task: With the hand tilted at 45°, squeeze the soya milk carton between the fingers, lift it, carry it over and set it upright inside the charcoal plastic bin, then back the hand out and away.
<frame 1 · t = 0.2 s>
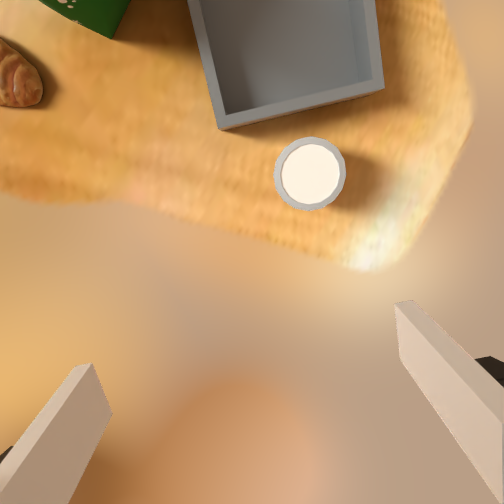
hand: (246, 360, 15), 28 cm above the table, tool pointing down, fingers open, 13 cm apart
white round container: (299, 170, 41), on the table
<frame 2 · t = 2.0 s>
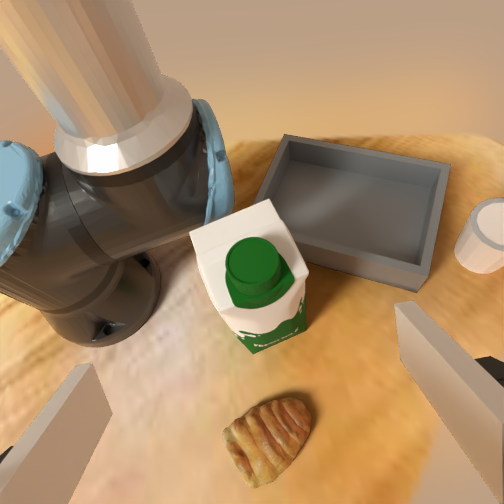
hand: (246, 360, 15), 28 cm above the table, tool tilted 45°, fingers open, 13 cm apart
pastry: (265, 437, 39), on the table
bin: (343, 217, 50), on the table
white round container: (477, 253, 45), on the table
soya milk: (268, 316, 45), on the table
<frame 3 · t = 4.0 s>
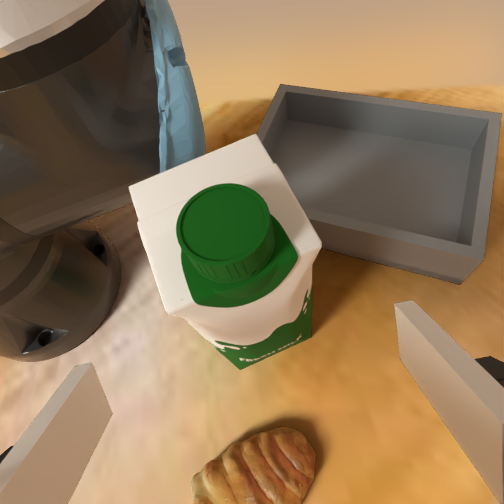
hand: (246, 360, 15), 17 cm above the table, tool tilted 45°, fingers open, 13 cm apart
pastry: (252, 485, 28), on the table
bin: (357, 188, 38), on the table
soya milk: (260, 318, 34), on the table
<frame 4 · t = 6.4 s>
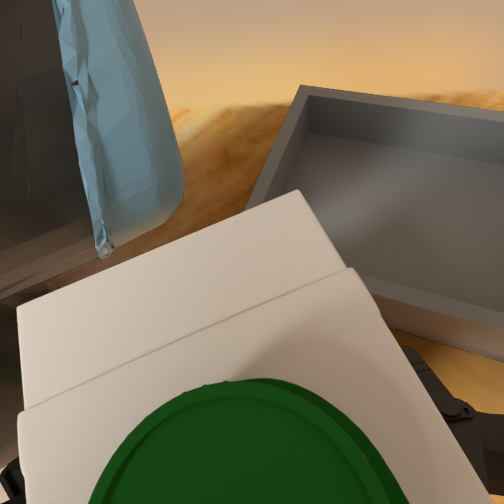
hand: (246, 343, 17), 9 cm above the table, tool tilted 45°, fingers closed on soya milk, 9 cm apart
bin: (407, 229, 28), on the table
soya milk: (276, 426, 23), on the table, touching gripper
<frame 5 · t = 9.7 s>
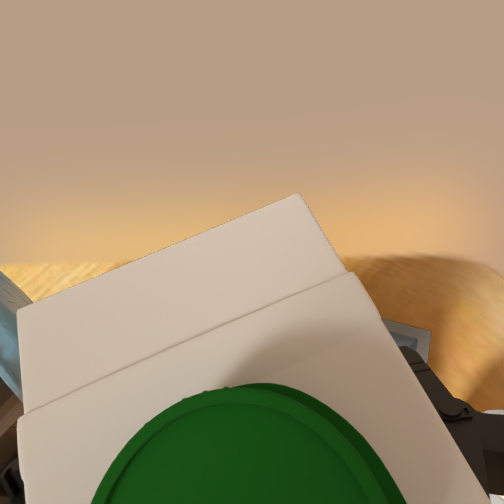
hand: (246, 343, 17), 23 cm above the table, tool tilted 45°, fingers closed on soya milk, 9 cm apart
bin: (291, 387, 37), on the table
soya milk: (276, 428, 23), point 14 cm above the table, touching gripper
when the fingers open (11 cm above the table, at t = 12.7 s): soya milk stays where it is, resting on bin.
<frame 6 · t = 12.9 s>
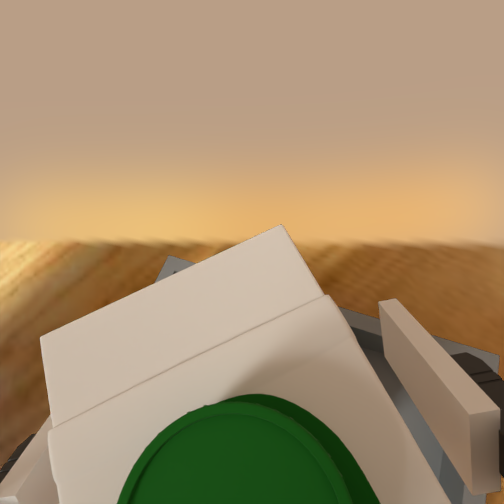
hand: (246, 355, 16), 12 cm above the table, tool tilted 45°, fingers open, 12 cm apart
bin: (278, 427, 25), on the table
soya milk: (275, 427, 24), point 1 cm above the table, touching bin
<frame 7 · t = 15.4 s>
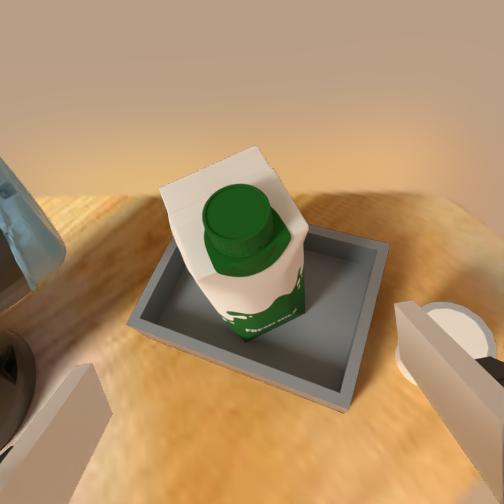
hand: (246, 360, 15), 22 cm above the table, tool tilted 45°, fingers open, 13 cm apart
bin: (263, 301, 40), on the table
white round container: (424, 358, 35), on the table
soya milk: (261, 299, 39), point 1 cm above the table, touching bin
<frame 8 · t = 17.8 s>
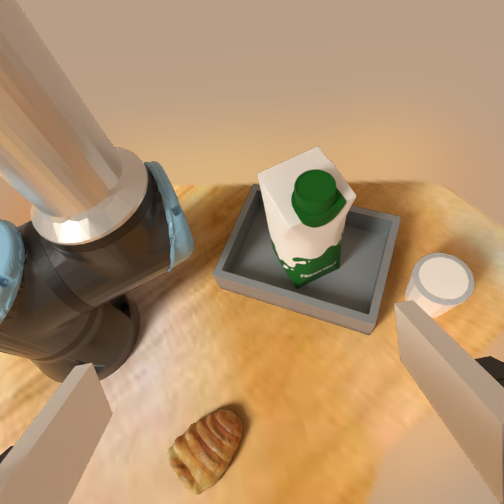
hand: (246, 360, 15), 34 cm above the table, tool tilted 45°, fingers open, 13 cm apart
pastry: (206, 448, 45), on the table
bin: (306, 261, 54), on the table
white round container: (426, 298, 49), on the table
soya milk: (306, 259, 53), point 1 cm above the table, touching bin
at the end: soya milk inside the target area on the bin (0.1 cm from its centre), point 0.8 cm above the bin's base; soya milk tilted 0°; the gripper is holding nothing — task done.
